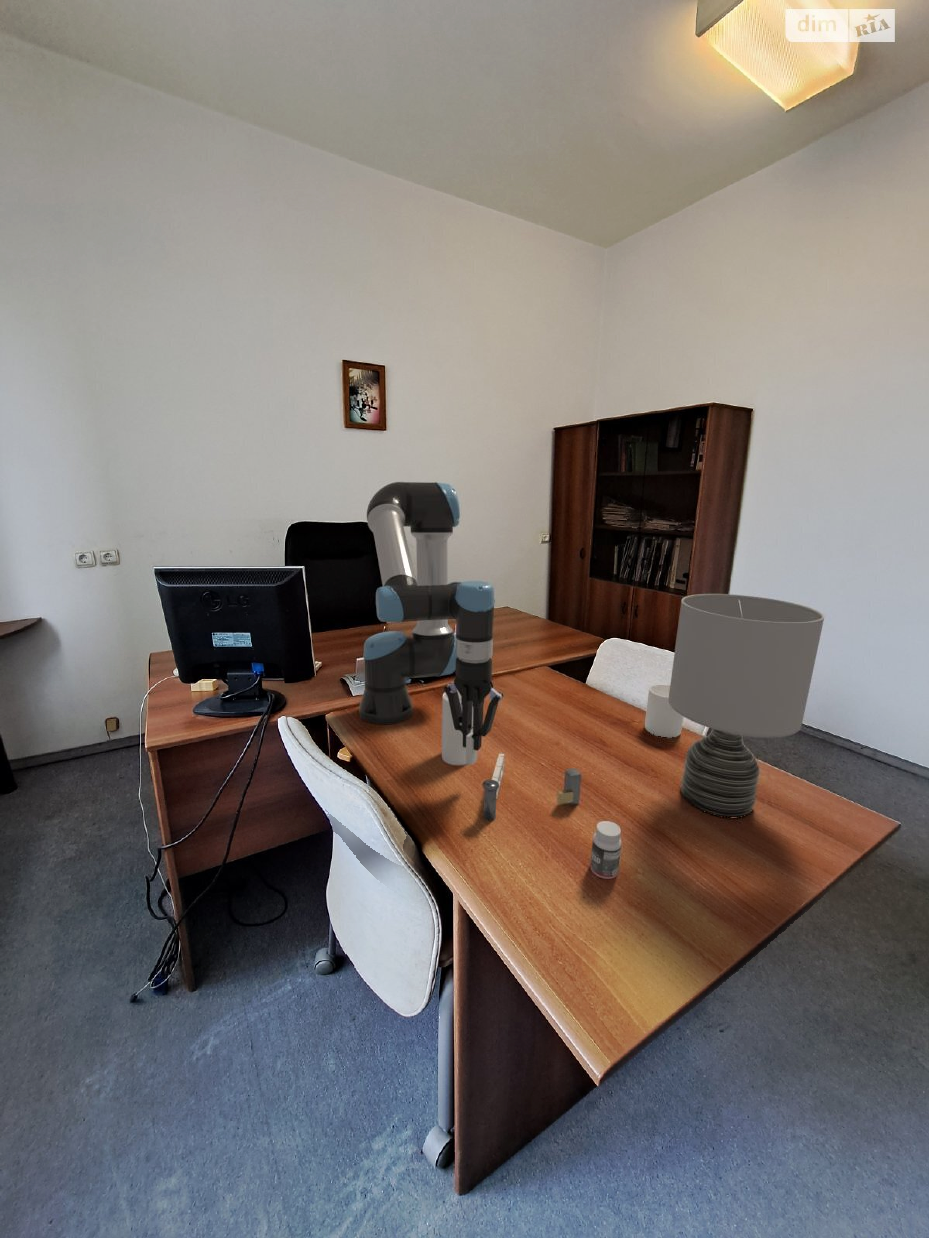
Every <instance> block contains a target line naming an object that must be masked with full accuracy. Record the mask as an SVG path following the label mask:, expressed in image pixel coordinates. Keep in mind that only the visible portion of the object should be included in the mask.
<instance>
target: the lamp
mask: <svg viewBox="0 0 929 1238" xmlns="http://www.w3.org/2000/svg"><path fill="white" fill-rule="evenodd" d="M824 620H825V615H824V614H823V613H822V612H821V611H819V610H817V609H814V608H812V607H809V606H807V605H802V604H799V603H794V602H791V601H786V600H785V601H784V600H780V599H774V598H768V597H762V596H761V597H760V596H754V595H741V594H728V593H703V594H702V593H700V594H699V593H698V594H691V595H687V596H684V597H682V599H681V602H680V610H679V617H678V626H677V633H676V639H675V647H674V654H673V662H672V669H671V678H670V683H669V684H670V685H669V686H670V691H669V704H670V705H671V707H672V708H673V709H674V710H675V711H676V712H678V713H679V714H680V715H682V716H684V717H683V718H685V719H687V720H689V721H691V722H694V723H696V724H697V725H700V726H703V727H706V728H709V729H711V731H710V733H709V734H708V735H707V736H704V737H702V738H700V739H698V740H696V741H695V742H694V743H692V744H691V745H690V746H689V748H688V749H687V752H686V754H685V761H684V764H683V765H684V767H683V774H682V779H681V787H680V788H681V789H680V790H681V794H682V797H683V798H684V797H685V798H684V799H685V800H686V802H688V803H689V804H690V803H691V804H692V806H693V805H694V806H695V807H694V806H693V807H694V808H696V809H698V808H699V809H701V810H702V812H704V811H705V812H704V813H706V812H708V813H707V814H709V813H710V814H709V815H712V814H715V815H718V816H717V817H719V816H722V817H721V818H724V817H728V818H727V819H732V818H731V817H741V816H744V815H747V814H749V813H750V812H751V811H752V812H753V810H754V805H755V802H756V796H757V790H758V783H759V779H760V772H761V769H760V768H761V767H760V765H759V763H758V760H757V758H756V756H755V755H754V754H753V753H752V752H751V750H750V749H749V748H748V747H747V746H746V745H745V744H744V741H743V737H750V738H757V739H758V738H763V739H764V738H765V739H767V738H768V739H769V738H770V739H772V738H785V737H789V736H792V735H795V734H797V733H798V732H799V731H800V730H801V729H802V725H803V721H804V716H805V713H806V712H805V711H806V707H807V703H808V702H807V701H808V698H809V697H808V696H809V693H810V688H811V684H812V683H811V682H812V679H813V678H812V676H813V672H814V669H815V663H816V658H817V654H818V649H819V644H820V639H821V636H822V635H821V634H822V631H823V626H824ZM691 804H690V805H691ZM699 809H698V810H699ZM701 810H700V811H701ZM752 812H751V813H752ZM751 813H750V814H751ZM750 814H749V815H750ZM715 815H714V816H715ZM747 816H748V815H747ZM741 818H742V817H741Z"/></svg>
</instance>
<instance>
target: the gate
mask: <svg viewBox="0 0 929 1238" xmlns="http://www.w3.org/2000/svg"><path fill="white" fill-rule="evenodd" d="M504 769H505V753H499V754H498V756H497V759H496V763H495V766H494V771H493V774H492V777H491V780H495V781H497V782H498V783H499V788H498V789H497V796H496V800H497V799H498V796H499V791H500V788H501V785H502V779H503V776H504Z"/></svg>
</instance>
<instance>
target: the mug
mask: <svg viewBox="0 0 929 1238" xmlns="http://www.w3.org/2000/svg"><path fill="white" fill-rule="evenodd" d="M669 691H670V685H669V684H653V685H651V686H649V687H648V693H647V694H648V695H647V703H646V711H645V719H644V728H645V730H646V731H647V733H649V732H650V733H649V734H651V735H653V734H654V735H653V736H655V737H658V736H661V737H660V738H662V737H667V738H666V739H673V738H672V737H674V738H677V737H679V736H680V735H681V733H682V729H683V723H684V718H685V717H684V716H682V715H680V714H679V713H678V712H676V711H675V710H674V709H673V708H672V707H671V705H670V704H669Z"/></svg>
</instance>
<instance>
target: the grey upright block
mask: <svg viewBox="0 0 929 1238" xmlns="http://www.w3.org/2000/svg"><path fill="white" fill-rule="evenodd" d="M563 783H564V784H563V790H559V791H557V799H556V802H557V804H558V805H563V804H564V805H565V804H566V805H567V806H568V807H570V806H575V805H576V806H577V805H580V795H581V785H582V784H581V783H582V773H581V772H580V771H579V770H578V769H577V768H567V769H565V770H564V782H563Z"/></svg>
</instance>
